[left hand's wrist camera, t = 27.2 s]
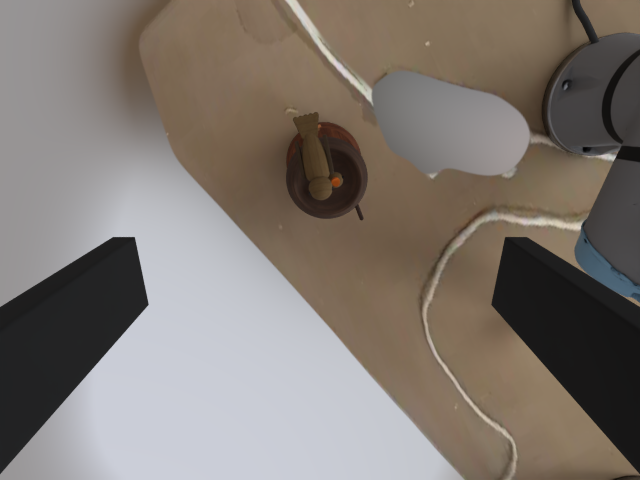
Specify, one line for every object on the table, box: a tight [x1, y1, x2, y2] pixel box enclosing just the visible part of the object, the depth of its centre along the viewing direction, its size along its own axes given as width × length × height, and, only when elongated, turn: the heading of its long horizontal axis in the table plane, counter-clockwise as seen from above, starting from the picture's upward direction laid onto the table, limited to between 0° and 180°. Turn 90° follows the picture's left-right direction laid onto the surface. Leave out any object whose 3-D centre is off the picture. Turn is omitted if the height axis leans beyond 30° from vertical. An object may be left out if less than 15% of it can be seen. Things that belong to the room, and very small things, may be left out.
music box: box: [286, 112, 367, 220], centre depth 42 cm, size 15×11×20 cm
